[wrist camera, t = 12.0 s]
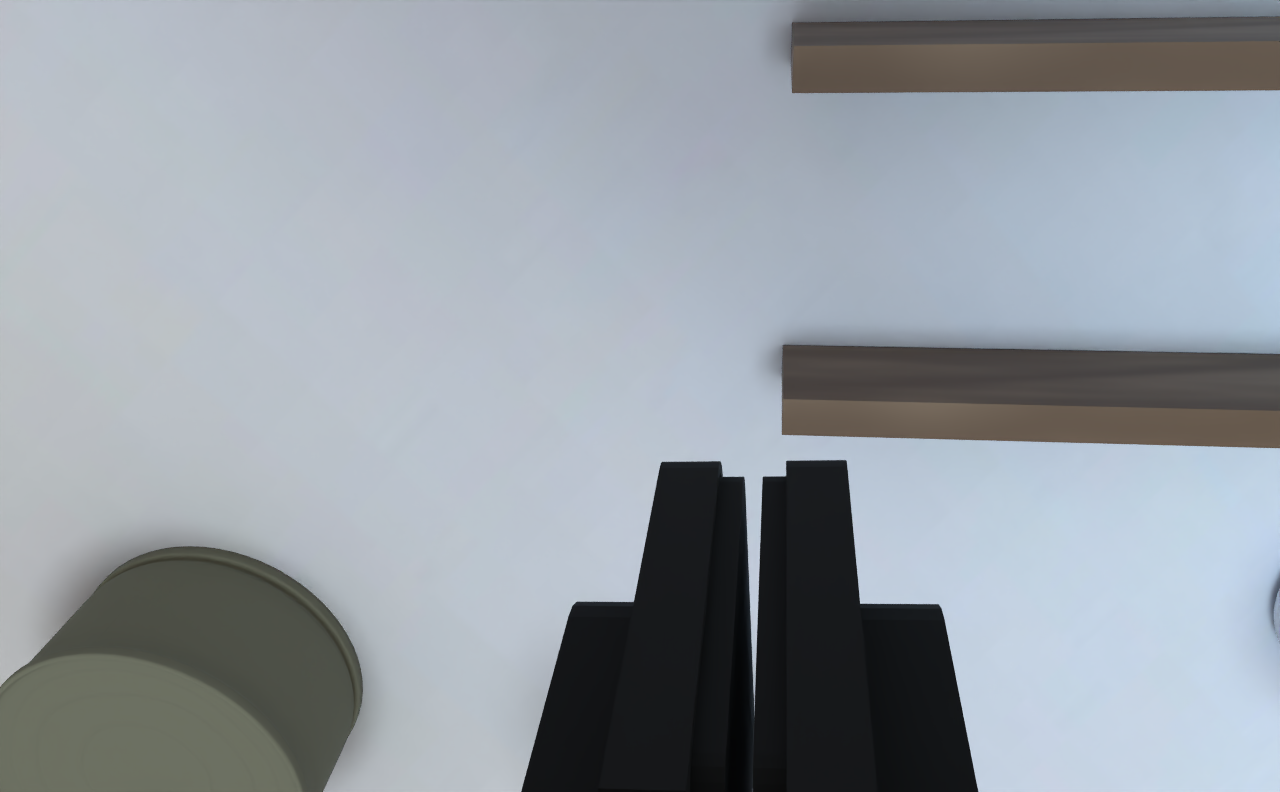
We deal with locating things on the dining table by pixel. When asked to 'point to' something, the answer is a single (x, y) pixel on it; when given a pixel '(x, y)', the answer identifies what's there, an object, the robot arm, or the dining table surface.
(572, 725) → the robot arm
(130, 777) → the can
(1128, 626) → the dining table surface
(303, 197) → the dining table surface
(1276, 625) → the supplement bottle
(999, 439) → the chute
